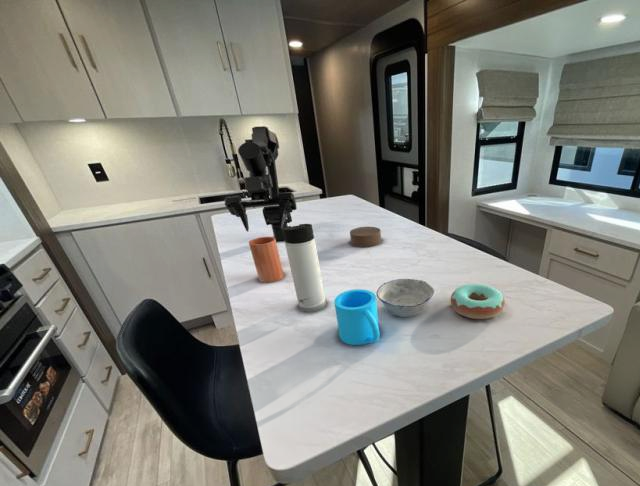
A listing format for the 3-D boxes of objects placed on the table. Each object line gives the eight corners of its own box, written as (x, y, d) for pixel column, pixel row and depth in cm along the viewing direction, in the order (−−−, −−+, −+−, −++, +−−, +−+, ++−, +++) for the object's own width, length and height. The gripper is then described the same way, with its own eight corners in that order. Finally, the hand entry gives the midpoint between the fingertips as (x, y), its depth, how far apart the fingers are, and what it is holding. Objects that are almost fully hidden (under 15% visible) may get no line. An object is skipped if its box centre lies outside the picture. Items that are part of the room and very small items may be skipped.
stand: (351, 238, 120) (350, 227, 118) (380, 236, 121) (379, 225, 119) (350, 248, 111) (349, 237, 109) (382, 245, 112) (381, 234, 110)
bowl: (391, 291, 82) (390, 274, 79) (439, 299, 77) (440, 281, 75) (368, 317, 71) (366, 298, 69) (423, 328, 67) (423, 308, 65)
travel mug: (302, 315, 73) (284, 230, 63) (296, 303, 78) (278, 222, 68) (329, 308, 76) (315, 225, 66) (321, 296, 81) (307, 218, 71)
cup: (262, 273, 95) (252, 237, 89) (285, 271, 95) (277, 235, 90) (256, 283, 89) (245, 245, 83) (281, 281, 89) (272, 243, 84)
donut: (447, 296, 79) (448, 281, 77) (496, 295, 78) (498, 280, 76) (453, 323, 68) (454, 307, 66) (509, 322, 68) (512, 306, 66)
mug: (333, 331, 67) (327, 297, 63) (366, 318, 71) (363, 285, 67) (360, 360, 59) (355, 324, 55) (396, 344, 63) (395, 308, 59)
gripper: (215, 166, 86) (217, 217, 82) (287, 162, 89) (292, 210, 85) (230, 191, 97) (233, 237, 93) (294, 186, 100) (299, 231, 96)
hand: (264, 229), depth 91 cm, fingers open, 9 cm apart
